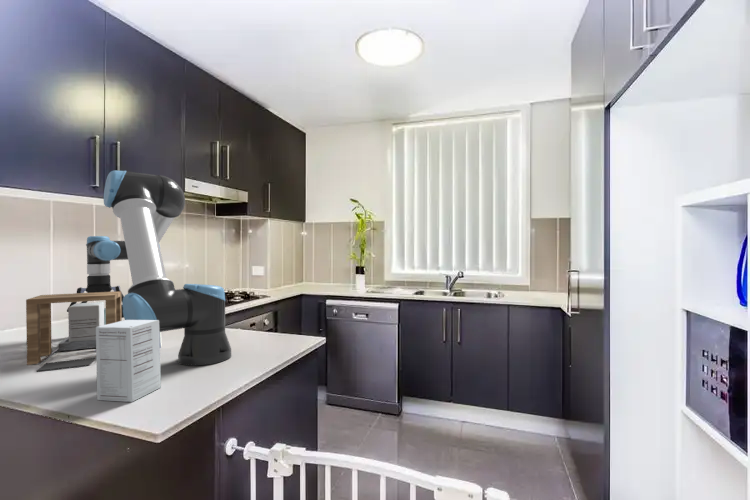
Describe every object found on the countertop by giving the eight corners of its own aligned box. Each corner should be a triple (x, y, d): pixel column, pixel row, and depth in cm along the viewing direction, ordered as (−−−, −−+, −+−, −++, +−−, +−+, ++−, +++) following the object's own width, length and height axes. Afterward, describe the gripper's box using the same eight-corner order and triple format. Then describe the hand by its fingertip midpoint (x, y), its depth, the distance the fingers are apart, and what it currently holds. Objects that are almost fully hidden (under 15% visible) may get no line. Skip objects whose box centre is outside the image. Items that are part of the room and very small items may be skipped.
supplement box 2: (162, 387, 93) (161, 319, 93) (132, 402, 84) (131, 327, 84) (128, 385, 95) (127, 318, 95) (95, 400, 86) (94, 326, 85)
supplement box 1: (75, 344, 136) (74, 303, 136) (105, 341, 140) (104, 301, 140) (67, 350, 128) (67, 306, 128) (99, 347, 132) (99, 304, 132)
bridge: (115, 355, 122) (114, 295, 122) (26, 365, 112) (26, 299, 112) (121, 346, 133) (121, 291, 133) (41, 354, 124) (41, 295, 123)
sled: (108, 346, 132) (108, 317, 132) (58, 351, 126) (58, 321, 126) (121, 331, 156) (121, 307, 156) (79, 335, 150) (79, 310, 150)
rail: (104, 356, 120) (104, 355, 120) (38, 364, 113) (38, 362, 113) (119, 338, 145) (119, 337, 145) (66, 343, 138) (66, 341, 138)
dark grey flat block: (89, 365, 111) (89, 364, 111) (36, 372, 106) (36, 370, 106) (95, 358, 118) (95, 357, 118) (46, 364, 113) (46, 362, 113)
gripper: (136, 273, 160) (137, 323, 160) (62, 275, 149) (63, 329, 149) (134, 274, 153) (135, 326, 153) (56, 276, 142) (57, 332, 142)
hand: (99, 327), depth 151 cm, fingers open, 13 cm apart
